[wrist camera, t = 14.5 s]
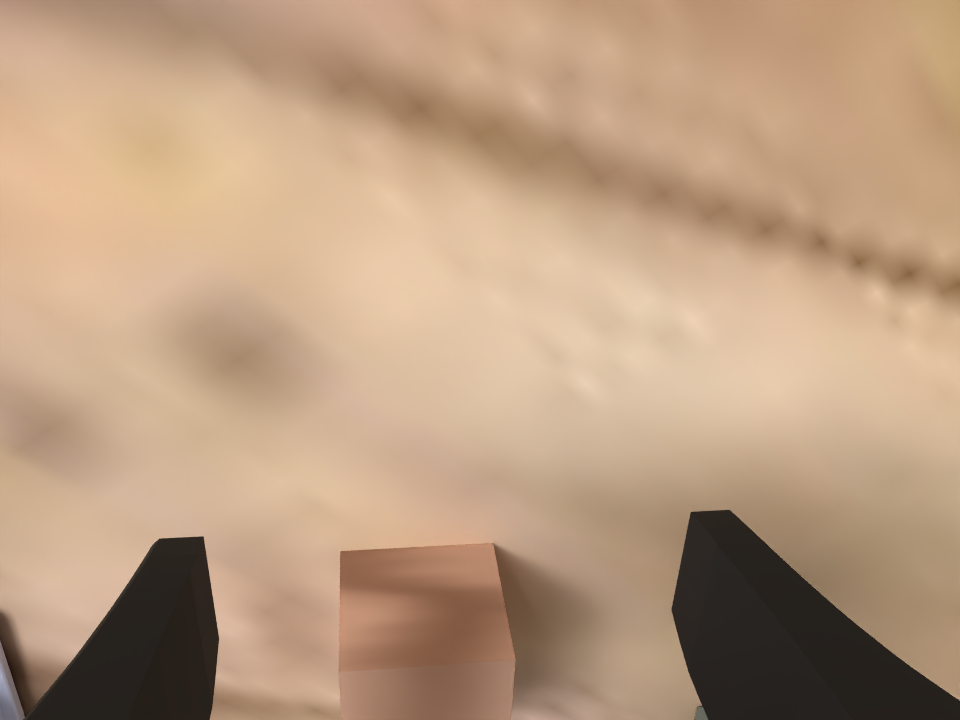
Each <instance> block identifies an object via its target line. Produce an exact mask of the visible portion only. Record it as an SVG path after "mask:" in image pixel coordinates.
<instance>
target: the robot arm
mask: <svg viewBox="0 0 960 720" xmlns="http://www.w3.org/2000/svg"><path fill="white" fill-rule="evenodd" d="M672 613H673V617H674V621H675V625H676V629H677V632H678V636H679V640H680V644H681V647H682V651H683V654H684V658H685V661H686V665H687V668H688V671H689V674H690V677H691V679H692V682H693V684H694V687H695V689H696V691H697V694H698V696H699V699H700V701H701V704H702V706H703V708H704V711H705V713H706V716H707V718H708V720H960V701H959V700H958V699H956V698H955V697H953V696H952V695H950V694H949V693H948V692H946V691H945V690H943V689H942V688H940V687H939V686H937V685H936V684H935V683H933V682H932V681H930V680H929V679H927V678H926V677H925V676H923V675H922V674H920V673H919V672H917V671H916V670H914V669H913V668H912V667H910V666H909V665H908V664H906V663H905V662H904V661H902V660H901V659H900V658H898V657H897V656H896V655H894V654H893V653H892V652H890V651H889V650H888V649H887V648H885V647H884V646H883V645H882V644H880V643H879V642H878V641H877V640H875V639H874V638H873V637H871V636H870V635H869V634H868V633H866V632H865V631H864V630H863V629H861V628H860V627H859V626H858V625H856V624H855V623H854V622H853V621H852V620H850V619H849V618H848V617H847V616H846V615H845V614H843V613H842V612H841V611H840V610H839V609H837V608H836V607H835V606H834V605H833V604H832V603H830V602H829V601H828V600H827V599H826V598H825V597H824V596H822V595H821V594H820V593H819V592H818V591H817V590H816V589H815V588H813V587H812V586H811V585H810V584H809V583H808V582H807V581H806V580H805V579H803V578H802V577H801V576H800V575H799V574H798V573H797V572H796V571H795V570H794V569H792V568H791V567H790V566H789V565H788V564H787V563H786V562H785V561H784V560H783V559H782V558H781V557H780V556H778V555H777V554H776V553H775V552H774V551H773V550H772V549H771V548H770V547H769V546H768V545H767V544H766V543H765V542H764V541H762V540H761V539H760V538H759V537H758V536H757V535H756V534H755V533H754V532H753V531H752V530H751V529H750V528H749V527H748V526H747V525H745V524H744V523H743V522H742V521H741V520H740V519H739V518H738V517H737V516H736V515H735V514H733V513H732V512H731V511H730V510H720V511H700V512H691V514H690V519H689V524H688V529H687V534H686V539H685V544H684V549H683V554H682V559H681V564H680V569H679V575H678V580H677V585H676V590H675V595H674V600H673V605H672ZM218 644H219V635H218V629H217V622H216V616H215V609H214V603H213V596H212V589H211V583H210V576H209V570H208V563H207V557H206V550H205V544H204V537H184V538H164V539H159V540H158V541H156V542H155V543H154V544H153V545H152V547H151V548H150V550H149V551H148V553H147V555H146V556H145V558H144V560H143V561H142V563H141V564H140V566H139V567H138V569H137V570H136V572H135V574H134V575H133V577H132V578H131V580H130V581H129V583H128V584H127V586H126V587H125V589H124V590H123V592H122V593H121V594H120V596H119V597H118V599H117V600H116V602H115V603H114V605H113V606H112V607H111V609H110V610H109V612H108V613H107V615H106V616H105V617H104V619H103V620H102V621H101V623H100V624H99V625H98V627H97V628H96V630H95V631H94V632H93V634H92V635H91V636H90V638H89V639H88V640H87V642H86V643H85V644H84V646H83V647H82V648H81V650H80V651H79V652H78V654H77V655H76V656H75V658H74V659H73V660H72V662H71V663H70V664H69V665H68V666H67V668H66V669H65V670H64V671H63V673H62V674H61V675H60V676H59V677H58V679H57V680H56V681H55V682H54V684H53V685H52V686H51V687H50V688H49V690H48V691H47V692H46V693H45V694H44V696H43V697H42V698H41V699H40V701H39V702H38V703H37V704H36V705H35V707H34V708H33V709H32V710H31V711H30V712H29V713H28V715H27V716H26V717H25V716H24V712H23V709H22V706H21V703H20V700H19V697H18V694H17V691H16V688H15V685H14V682H13V679H12V675H11V672H10V669H9V666H8V663H7V660H6V657H5V654H4V651H3V648H2V645H1V642H0V720H210V715H211V710H212V704H213V695H214V685H215V676H216V665H217V654H218Z"/></svg>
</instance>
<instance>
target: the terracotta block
mask: <svg viewBox="0 0 960 720" xmlns="http://www.w3.org/2000/svg"><path fill="white" fill-rule="evenodd" d="M515 662H516V659H515V654H514V649H513V644H512V638H511V633H510V628H509V623H508V618H507V613H506V607H505V602H504V597H503V592H502V587H501V582H500V576H499V571H498V566H497V561H496V556H495V551H494V545H493V543H486V544H467V545H449V546H430V547H411V548H393V549H374V550H356V551H341V554H340V623H339V684H340V700H341V716H342V720H511V711H512V699H513V686H514V674H515Z"/></svg>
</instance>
